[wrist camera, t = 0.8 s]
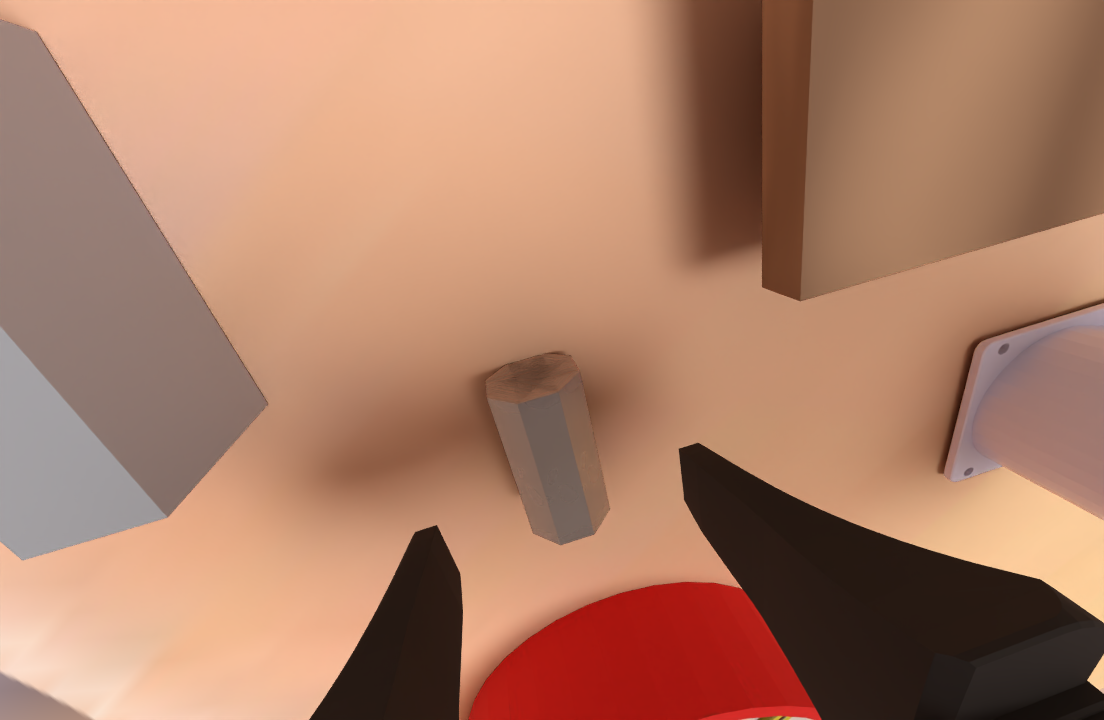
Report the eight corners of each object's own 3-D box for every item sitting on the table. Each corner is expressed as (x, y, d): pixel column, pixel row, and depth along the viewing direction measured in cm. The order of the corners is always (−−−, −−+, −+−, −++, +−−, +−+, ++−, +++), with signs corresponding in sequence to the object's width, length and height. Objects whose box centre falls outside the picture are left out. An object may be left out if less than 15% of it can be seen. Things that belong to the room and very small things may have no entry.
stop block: (35, 31, 9) (-381, -110, 5) (268, 404, 13) (167, 517, 9) (-109, 61, 9) (-696, -58, 4) (173, 430, 13) (22, 560, 9)
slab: (1431, -294, 9) (1601, -377, 8) (1231, 153, 13) (1320, 150, 12) (761, -160, 8) (823, -232, 7) (762, 287, 12) (800, 301, 10)
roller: (565, 346, 15) (587, 383, 12) (594, 472, 17) (617, 526, 15) (484, 369, 15) (487, 412, 12) (526, 493, 17) (536, 553, 14)
